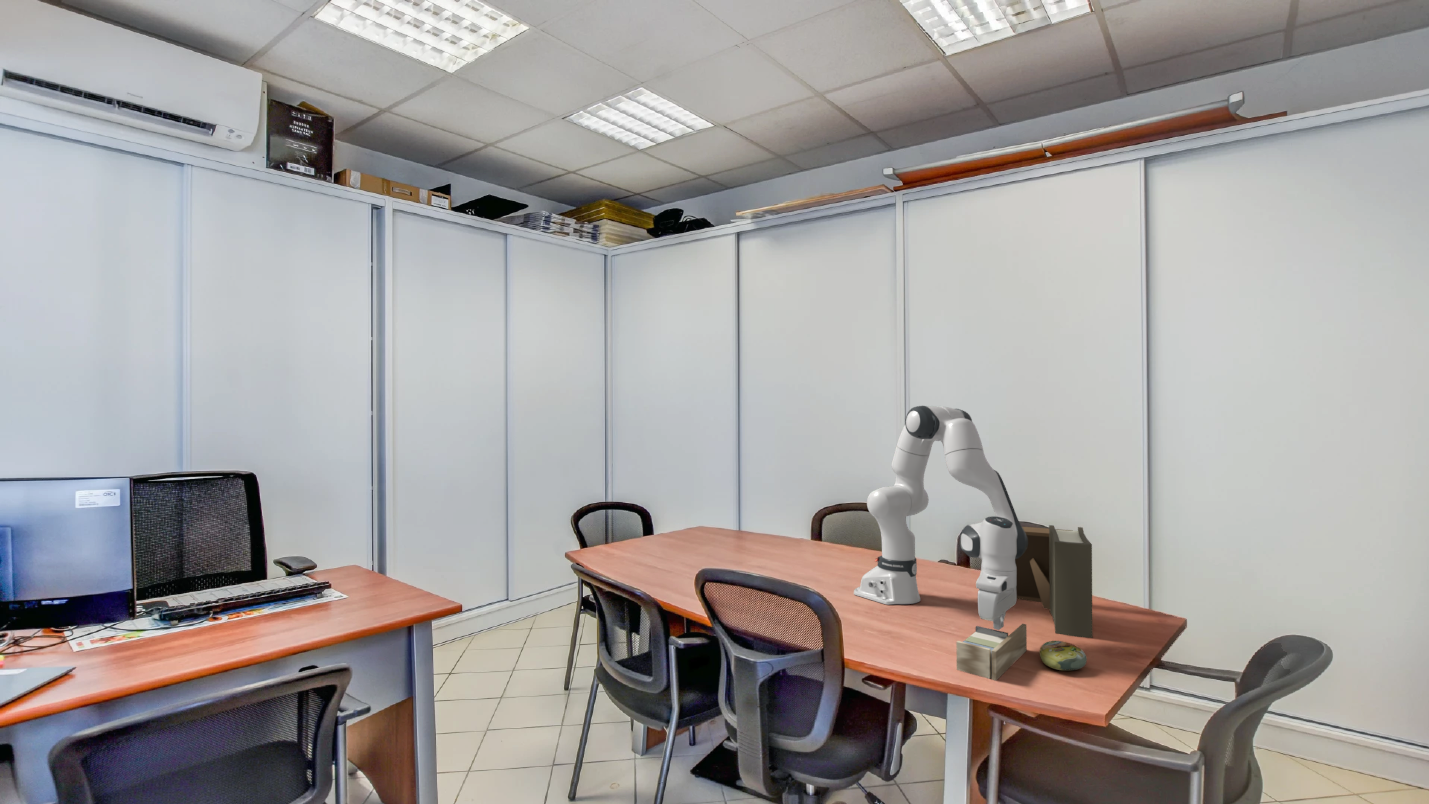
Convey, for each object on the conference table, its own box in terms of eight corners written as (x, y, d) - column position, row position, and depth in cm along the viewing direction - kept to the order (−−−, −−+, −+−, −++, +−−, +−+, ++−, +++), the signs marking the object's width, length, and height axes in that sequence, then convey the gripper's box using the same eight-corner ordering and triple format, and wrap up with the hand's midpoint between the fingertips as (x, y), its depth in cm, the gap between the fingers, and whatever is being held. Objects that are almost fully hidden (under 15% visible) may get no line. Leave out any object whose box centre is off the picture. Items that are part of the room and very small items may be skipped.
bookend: (975, 653, 166) (975, 626, 167) (984, 645, 172) (984, 620, 172) (1007, 661, 161) (1007, 634, 161) (1015, 653, 166) (1015, 626, 166)
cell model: (1033, 661, 156) (1038, 624, 167) (1042, 685, 157) (1047, 647, 169) (1080, 662, 150) (1082, 623, 161) (1089, 688, 151) (1090, 648, 163)
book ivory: (970, 658, 163) (970, 636, 163) (975, 654, 166) (975, 631, 166) (1002, 667, 158) (1002, 643, 158) (1007, 662, 161) (1007, 639, 161)
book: (1092, 640, 177) (1092, 543, 176) (1055, 636, 181) (1054, 540, 180) (1083, 615, 196) (1082, 527, 196) (1049, 611, 200) (1049, 525, 200)
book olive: (964, 663, 160) (964, 640, 160) (970, 658, 163) (970, 636, 163) (997, 672, 155) (996, 648, 155) (1002, 667, 158) (1002, 643, 158)
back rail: (956, 669, 156) (956, 641, 157) (990, 641, 175) (990, 616, 175) (996, 680, 150) (995, 651, 150) (1026, 650, 169) (1026, 624, 169)
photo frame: (1001, 594, 219) (1001, 522, 220) (1072, 602, 209) (1071, 527, 210) (999, 604, 206) (999, 528, 207) (1075, 614, 196) (1074, 534, 197)
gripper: (999, 568, 180) (999, 615, 180) (973, 583, 164) (973, 635, 164) (1022, 572, 175) (1022, 621, 175) (998, 588, 160) (998, 641, 160)
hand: (998, 628), depth 170 cm, fingers closed
